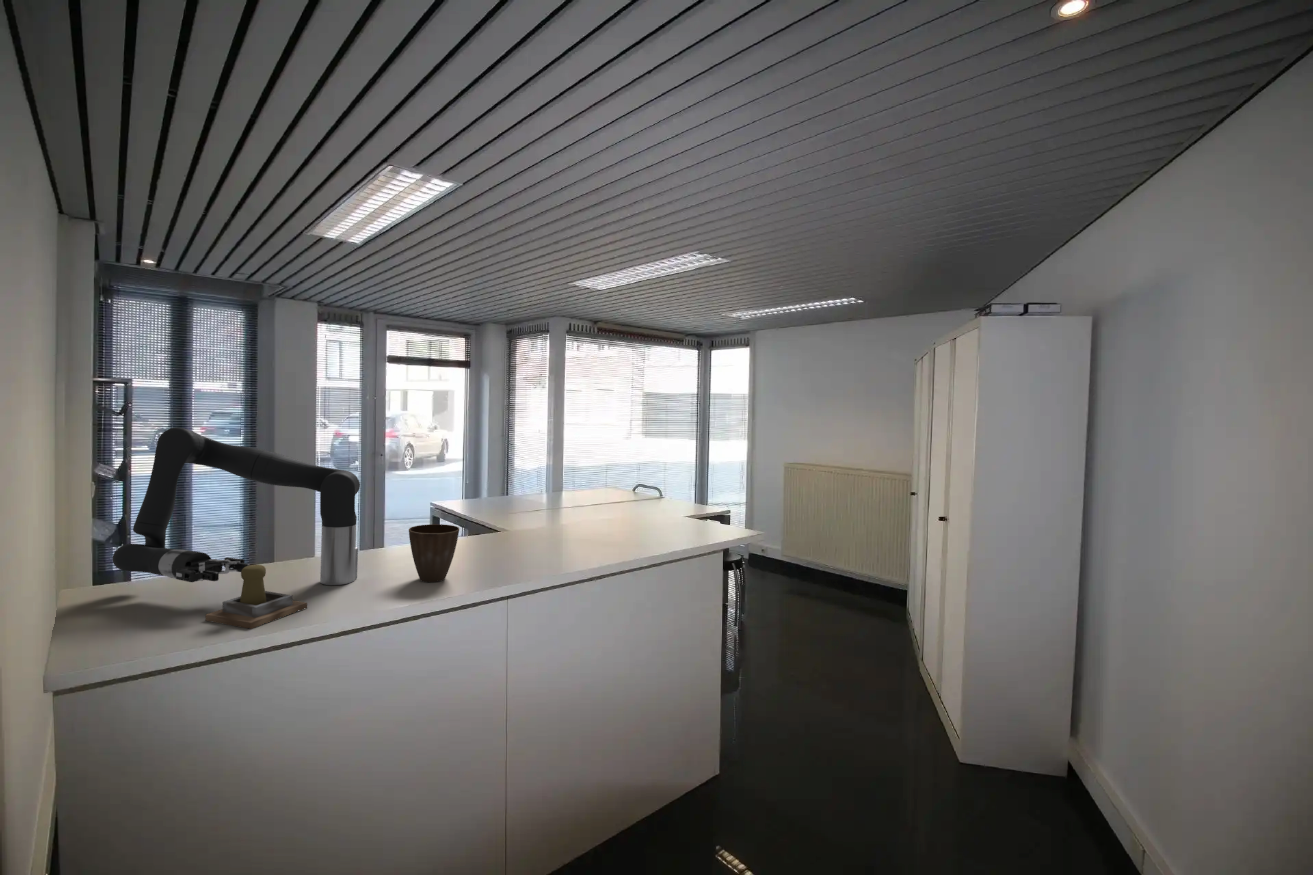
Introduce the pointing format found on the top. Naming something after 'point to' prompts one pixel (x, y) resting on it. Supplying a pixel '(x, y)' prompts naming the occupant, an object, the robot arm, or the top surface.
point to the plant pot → (433, 550)
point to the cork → (253, 585)
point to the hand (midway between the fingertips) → (233, 572)
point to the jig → (256, 610)
